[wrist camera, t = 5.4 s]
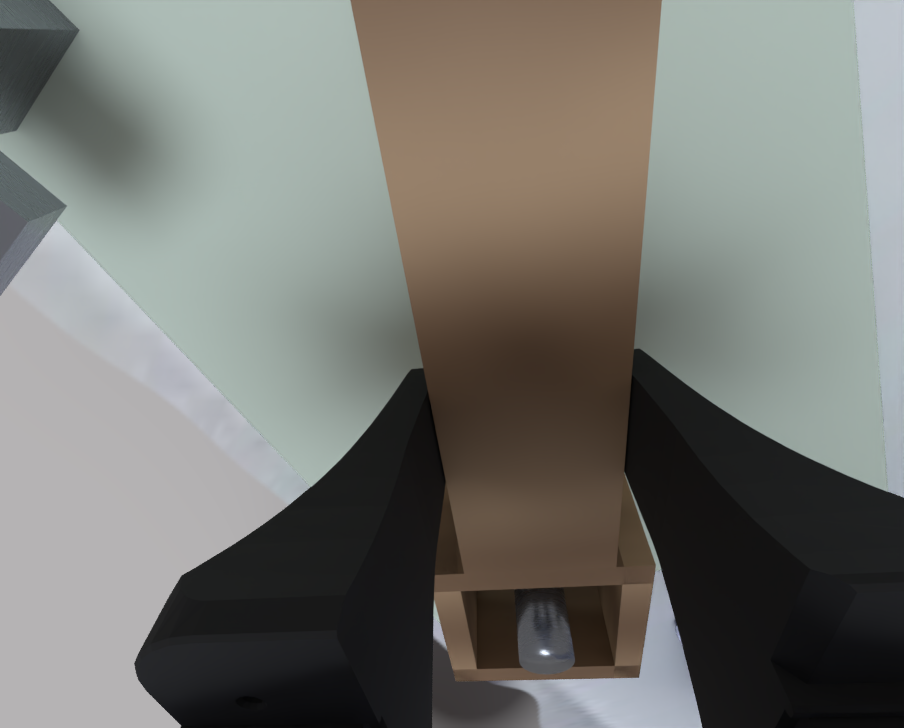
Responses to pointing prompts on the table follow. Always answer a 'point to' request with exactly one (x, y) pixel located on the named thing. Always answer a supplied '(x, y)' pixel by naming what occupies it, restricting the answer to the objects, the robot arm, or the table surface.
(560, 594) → the cylinder
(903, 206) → the table surface
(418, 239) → the link
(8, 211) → the keeper
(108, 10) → the board
